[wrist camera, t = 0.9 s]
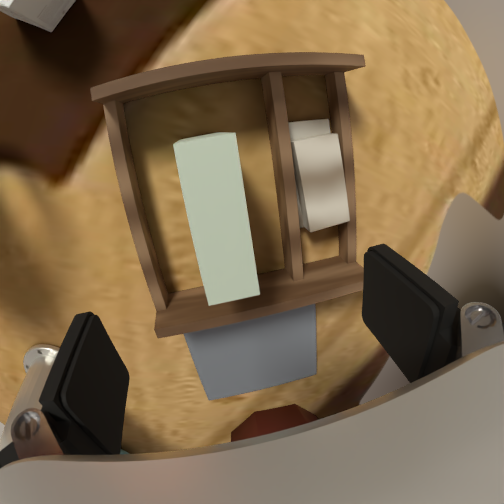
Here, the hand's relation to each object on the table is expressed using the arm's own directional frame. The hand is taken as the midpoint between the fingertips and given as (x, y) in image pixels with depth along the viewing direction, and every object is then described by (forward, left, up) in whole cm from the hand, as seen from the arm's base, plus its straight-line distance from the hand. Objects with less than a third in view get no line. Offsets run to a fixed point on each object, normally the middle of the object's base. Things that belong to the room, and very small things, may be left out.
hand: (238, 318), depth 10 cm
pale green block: (-1, 0, -24) cm, 24 cm away
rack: (-1, -4, -24) cm, 25 cm away
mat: (-24, -2, -24) cm, 34 cm away
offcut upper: (-1, -12, -23) cm, 26 cm away
